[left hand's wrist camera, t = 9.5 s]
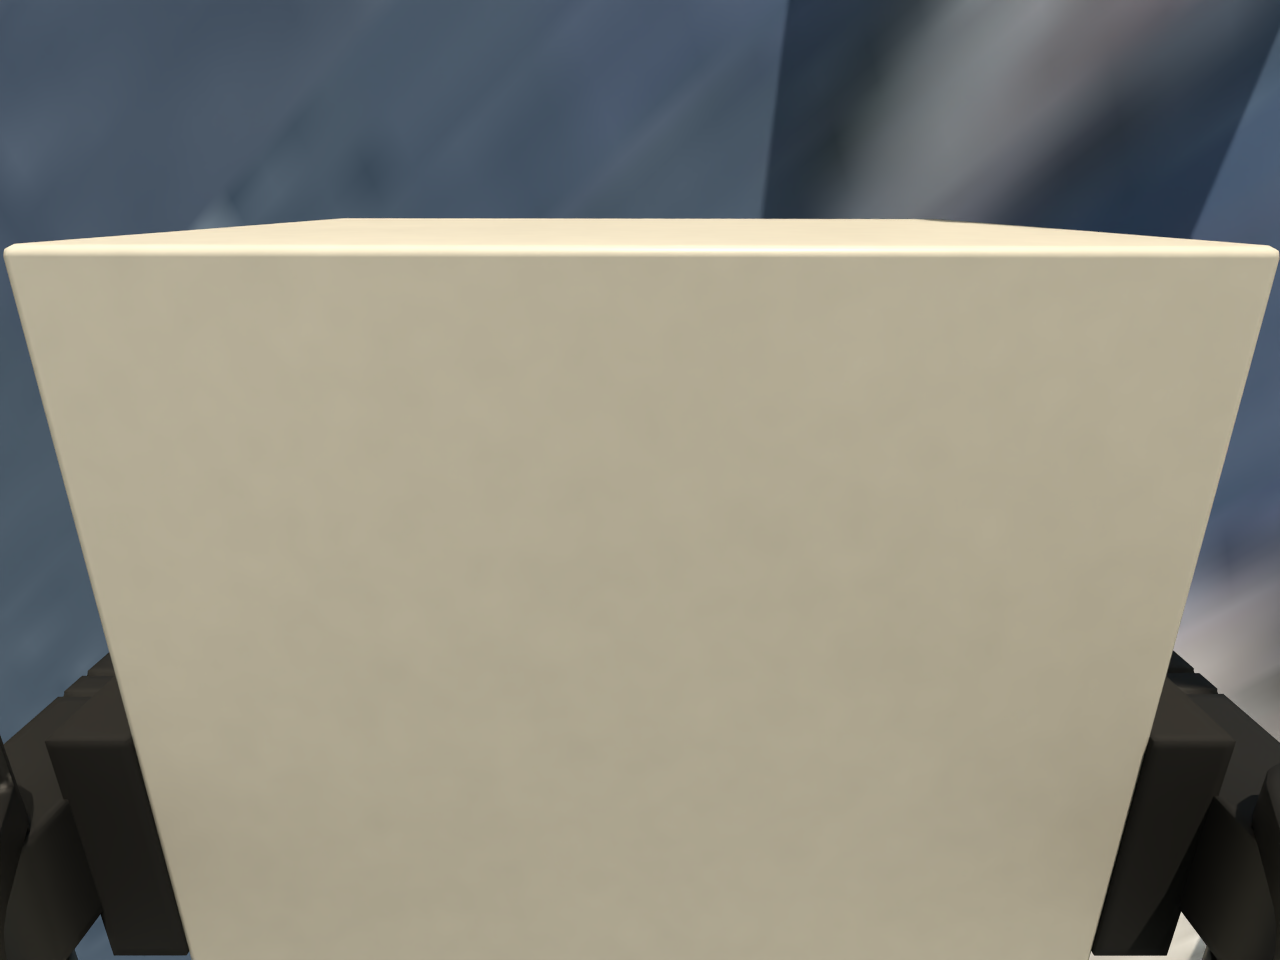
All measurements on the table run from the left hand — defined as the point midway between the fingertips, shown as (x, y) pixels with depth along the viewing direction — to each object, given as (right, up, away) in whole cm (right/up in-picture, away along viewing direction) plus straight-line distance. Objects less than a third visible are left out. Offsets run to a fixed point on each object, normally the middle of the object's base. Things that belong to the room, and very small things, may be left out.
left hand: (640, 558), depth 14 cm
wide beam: (0, -26, +10) cm, 28 cm away
